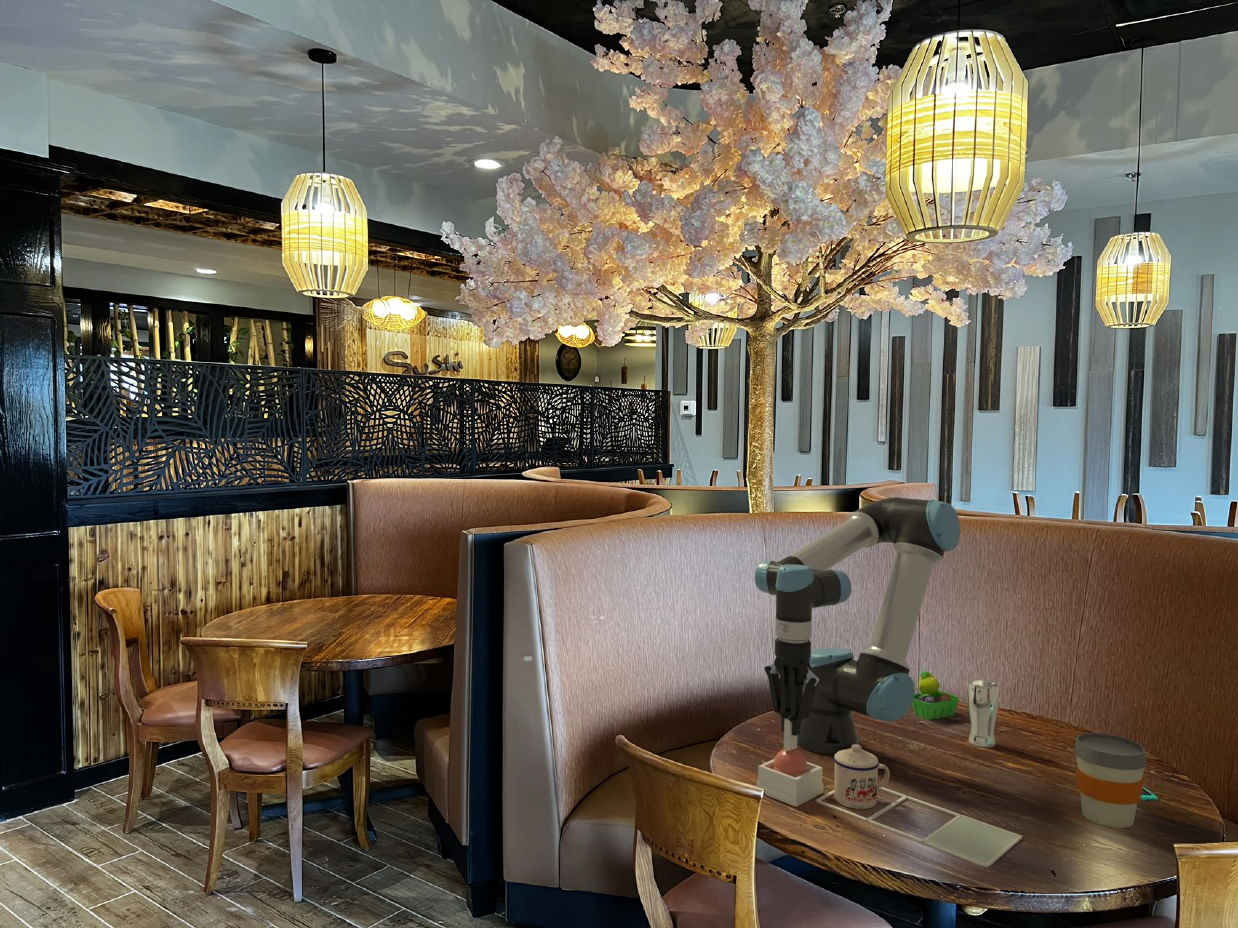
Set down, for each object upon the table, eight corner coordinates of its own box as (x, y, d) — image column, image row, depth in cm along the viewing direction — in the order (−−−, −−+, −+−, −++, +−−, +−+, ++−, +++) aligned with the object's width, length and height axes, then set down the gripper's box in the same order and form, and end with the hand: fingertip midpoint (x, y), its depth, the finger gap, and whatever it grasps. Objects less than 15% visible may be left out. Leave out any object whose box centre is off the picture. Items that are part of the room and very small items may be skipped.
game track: (814, 801, 173) (815, 799, 173) (855, 779, 185) (856, 777, 185) (987, 868, 148) (987, 866, 148) (1022, 837, 159) (1022, 835, 159)
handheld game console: (1115, 771, 192) (1116, 765, 192) (1159, 803, 176) (1160, 796, 176) (1072, 770, 192) (1072, 765, 192) (1111, 802, 176) (1112, 795, 176)
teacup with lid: (844, 812, 169) (846, 755, 168) (825, 792, 178) (826, 738, 177) (899, 807, 171) (900, 751, 171) (877, 788, 180) (879, 735, 180)
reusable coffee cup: (1114, 801, 175) (1116, 731, 174) (1159, 830, 163) (1162, 754, 162) (1058, 804, 174) (1061, 733, 173) (1100, 833, 161) (1103, 757, 161)
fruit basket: (927, 722, 222) (928, 680, 221) (904, 711, 230) (905, 671, 229) (960, 717, 226) (962, 676, 225) (937, 707, 234) (938, 667, 234)
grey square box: (756, 791, 178) (757, 765, 178) (783, 777, 185) (784, 753, 185) (796, 806, 171) (796, 780, 171) (823, 792, 178) (823, 767, 178)
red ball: (766, 781, 178) (767, 748, 178) (785, 772, 183) (786, 740, 182) (794, 791, 173) (795, 758, 173) (813, 782, 178) (814, 749, 177)
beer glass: (999, 741, 208) (1001, 682, 208) (994, 750, 202) (996, 689, 202) (969, 735, 212) (971, 677, 211) (964, 744, 206) (966, 684, 205)
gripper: (757, 635, 179) (754, 744, 180) (809, 647, 169) (806, 762, 170) (777, 630, 184) (775, 735, 185) (829, 641, 174) (826, 752, 175)
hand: (790, 748), depth 177 cm, fingers closed
